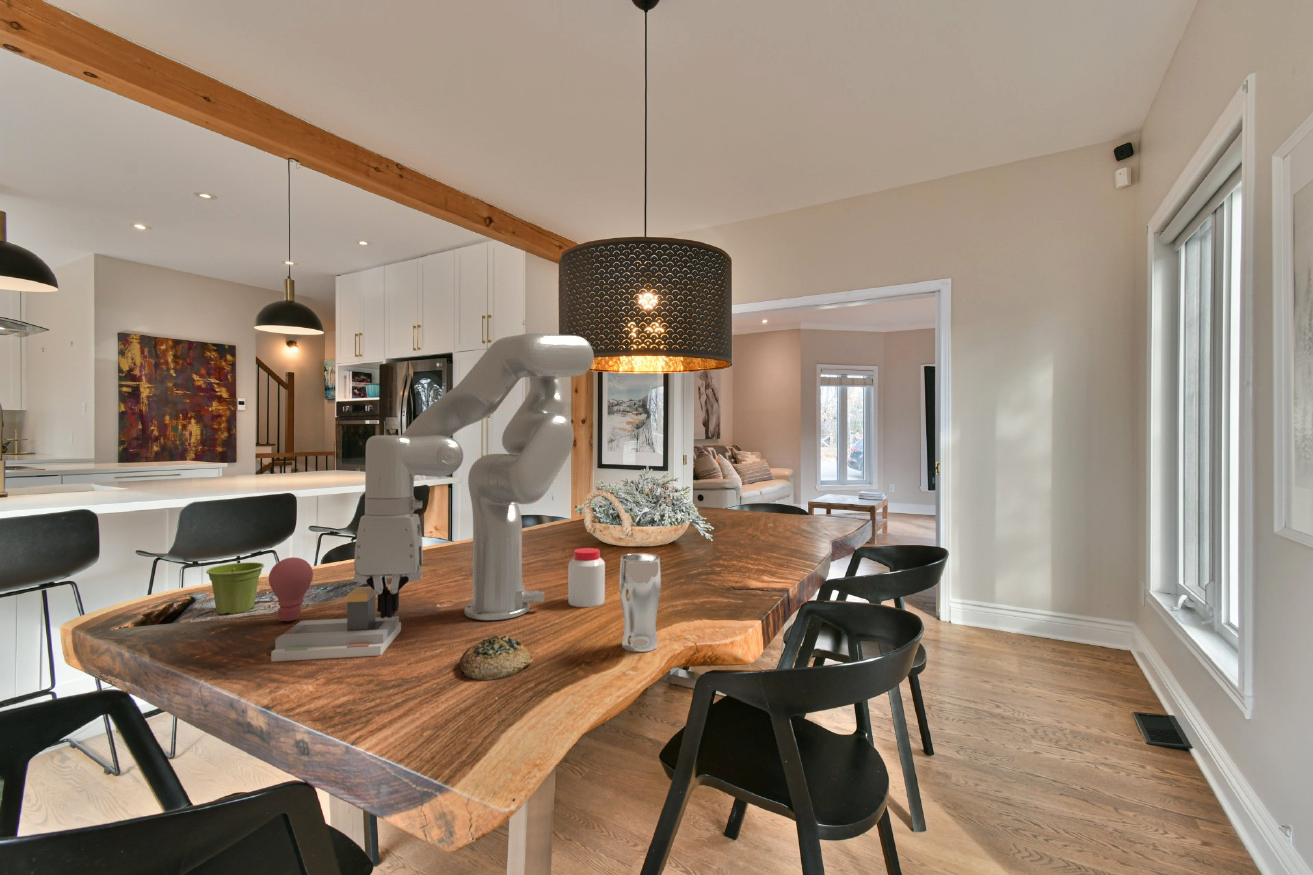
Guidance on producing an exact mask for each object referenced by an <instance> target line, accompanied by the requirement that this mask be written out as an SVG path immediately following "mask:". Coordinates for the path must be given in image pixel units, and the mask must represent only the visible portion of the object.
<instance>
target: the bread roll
mask: <svg viewBox="0 0 1313 875" xmlns="http://www.w3.org/2000/svg"><path fill="white" fill-rule="evenodd" d="M533 661H534V656H533V655H532V653H531V652H529V650H528V648H527V647H526V646H524V645H523V644H522V643H521V642H519V640H516V639H515V638H510V636H509V635H506V634H505V635H504V636H502V637H499V636H498V634H494V635H493V636H492V637H490V638H489V637H488V638H487V637H485V638H484V639H482V640H481V641H479V642H478V643H476V644H475V645H473V646H470V647H469V648H468V649H467V650H465V652H463V653H462V655H461V657H460V659H459V668H460V670H461V673H463V674H464V675H465V676H466V677H467V678H469V679H473V680H479V681H488V680H489V681H491V680H495V679H501V678H506V677H509V676H513V675H515V674H517V673H519V672H521V671H522V670H523V669H524V668H525V667H528V666H529V665H530V664H531V663H532V662H533Z"/></svg>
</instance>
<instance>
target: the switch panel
mask: <svg viewBox="0 0 1313 875" xmlns="http://www.w3.org/2000/svg"><path fill="white" fill-rule="evenodd" d="M401 631H402V622H400V616H399V615H397V616H394V615H393V616H392V617H391V618H387V617H385V618H381V616H376V628H375V630H360V631H347V618H335V619H334V618H331V619H327V618H326V619H308V620H300V621H299V622H298V623H296V624H295V625H294V626H292V627H291V628H289V629H288V630H287V631H285V632H284V633H282V634H281V635H279V636H278V637H276V639H275V640H274V641H275V645H274V647H275V648H274V649H273V650H272V651H271V652H270V654H271V657H270V658H271V659H270V660H271V662H288V661H302V660H303V661H305V660H306V661H307V660H321V659H322V660H323V659H341V658H357V657H361V658H362V657H374V656H375V657H376V656H377V657H379V656H382V655H383V653H384V652H385V651H386V650H387V649H388V647H390V645H391V643H392V642H394V640H395V638H397V636H398V635H399V634H400V632H401Z"/></svg>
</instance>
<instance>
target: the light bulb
mask: <svg viewBox="0 0 1313 875" xmlns="http://www.w3.org/2000/svg"><path fill="white" fill-rule="evenodd" d="M313 577H314V570H313V568H312V566H311V564H310V563H309V562H308V561H306V560H305V559H303V558H301V557H287V558H284V559H281V560H280V561H278V562H277V563H275V564H274V565H273V567H272V568H271V569H270V572H269V575H268V584H269V587H270V588H271V590H272V593H274V595H275V597H276V598H277V599H278V607H279V608H278V609H277V617H278V619H277V620H279V621H281V622H284V621H285V622H292V621H294V620H297V619H299V618H300V617H301V609H302V604H303V603H304V601H305V599H304V597H305V595H306V593H307V591H308V590H309V588H310V586H311V583H312V581H313Z"/></svg>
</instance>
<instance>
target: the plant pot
mask: <svg viewBox="0 0 1313 875" xmlns="http://www.w3.org/2000/svg"><path fill="white" fill-rule="evenodd" d="M264 567H265V563H261V562H255V561H253V562H249V561H248V562H237V563H236V562H235V563H227V564H220V565H217V566H213V567H210V568H208V569H206V570H205V572H206V574H208V577H209V580H210V581H211V586H212V591H213V592H212V593H213V599H214V604H215V611H216V614H219V615H225V614H227V613H228V614H231V615H237V614H242V613H246V612H249V611H250V610H251V609H254V608H255V602H256V596H257V590H258V586H259V579H260V575H261V574H262V570H263V568H264Z"/></svg>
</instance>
